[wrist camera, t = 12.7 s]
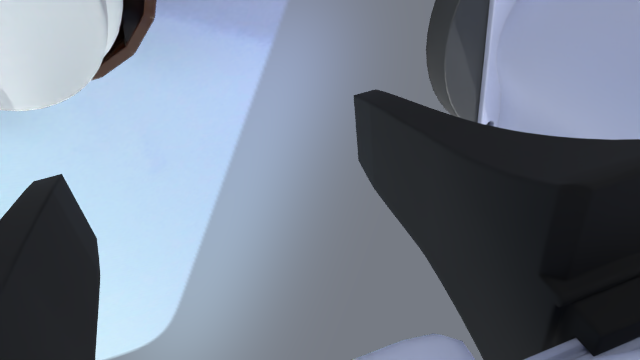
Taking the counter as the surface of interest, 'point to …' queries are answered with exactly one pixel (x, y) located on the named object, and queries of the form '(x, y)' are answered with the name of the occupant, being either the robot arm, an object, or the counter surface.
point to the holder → (128, 33)
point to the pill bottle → (52, 48)
